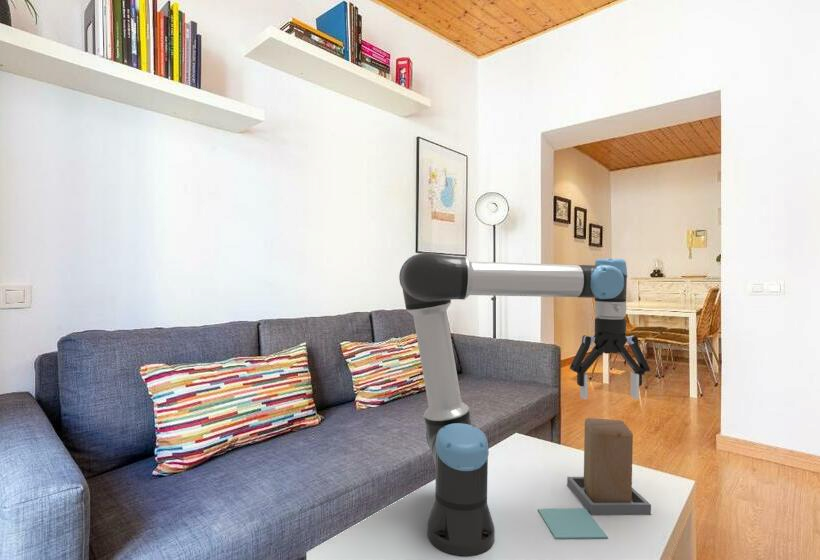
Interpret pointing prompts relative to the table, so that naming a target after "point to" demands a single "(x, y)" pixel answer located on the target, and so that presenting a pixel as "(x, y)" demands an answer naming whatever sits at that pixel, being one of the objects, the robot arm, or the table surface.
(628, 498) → the wooden block
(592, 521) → the board
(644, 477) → the table surface
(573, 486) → the gray square frame
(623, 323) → the robot arm
